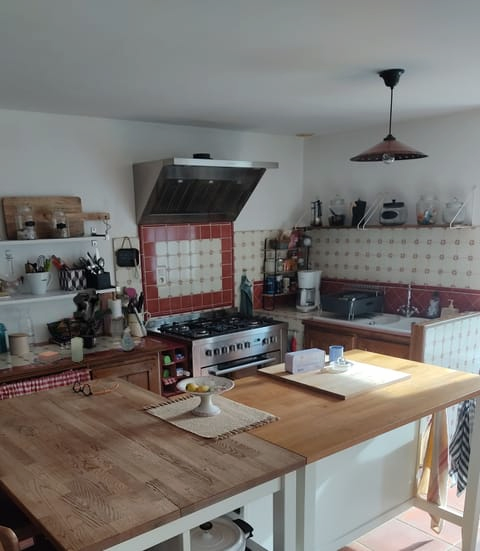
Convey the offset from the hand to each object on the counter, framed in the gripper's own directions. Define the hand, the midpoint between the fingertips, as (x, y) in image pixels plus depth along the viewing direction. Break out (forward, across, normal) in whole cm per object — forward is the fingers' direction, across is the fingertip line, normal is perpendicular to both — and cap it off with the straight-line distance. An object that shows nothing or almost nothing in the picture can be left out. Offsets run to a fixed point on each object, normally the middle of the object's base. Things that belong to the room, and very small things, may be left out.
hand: (78, 335), depth 287 cm
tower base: (+13, -16, +4) cm, 21 cm away
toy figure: (+3, +26, +17) cm, 32 cm away
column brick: (+15, +1, +2) cm, 15 cm away
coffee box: (-9, +18, +33) cm, 39 cm away
